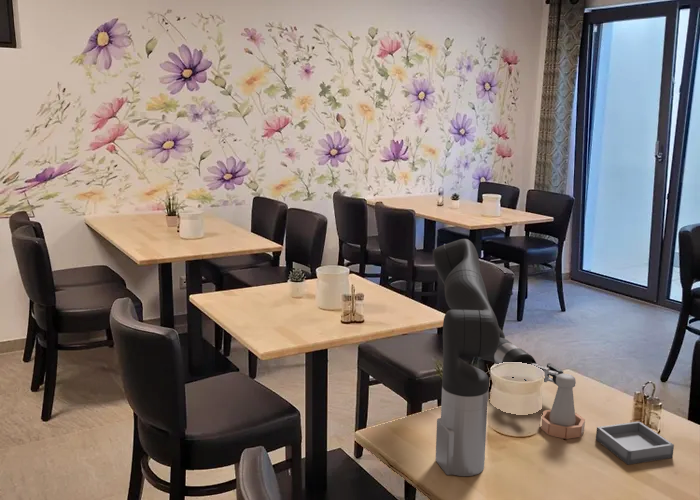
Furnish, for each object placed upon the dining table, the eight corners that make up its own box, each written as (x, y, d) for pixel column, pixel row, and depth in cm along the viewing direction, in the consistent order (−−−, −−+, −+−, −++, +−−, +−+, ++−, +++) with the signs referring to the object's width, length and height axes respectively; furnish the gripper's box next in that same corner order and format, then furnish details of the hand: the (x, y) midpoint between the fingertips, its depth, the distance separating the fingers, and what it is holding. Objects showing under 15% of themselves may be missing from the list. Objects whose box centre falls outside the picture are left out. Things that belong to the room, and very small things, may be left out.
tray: (627, 464, 141) (629, 451, 140) (595, 439, 151) (596, 427, 151) (672, 457, 144) (674, 444, 143) (638, 433, 154) (639, 421, 153)
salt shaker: (546, 430, 155) (550, 377, 152) (551, 420, 160) (555, 368, 157) (572, 436, 152) (577, 382, 150) (577, 426, 157) (581, 373, 155)
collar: (554, 440, 151) (555, 430, 150) (533, 421, 159) (533, 411, 159) (591, 435, 153) (592, 425, 153) (568, 417, 162) (568, 407, 161)
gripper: (490, 350, 174) (521, 374, 158) (539, 345, 177) (575, 368, 162) (488, 377, 175) (519, 404, 160) (538, 372, 179) (573, 397, 164)
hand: (547, 386), depth 161 cm, fingers open, 8 cm apart
